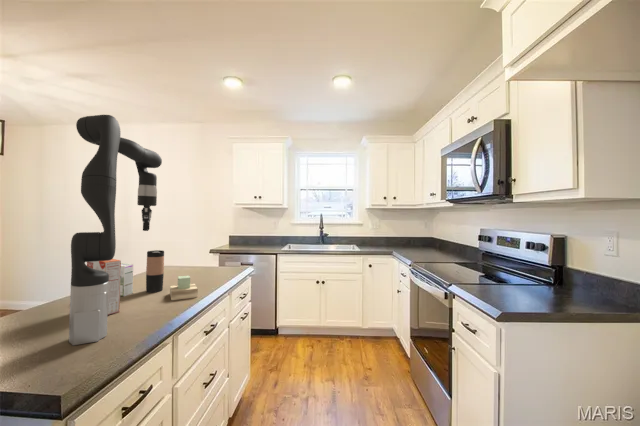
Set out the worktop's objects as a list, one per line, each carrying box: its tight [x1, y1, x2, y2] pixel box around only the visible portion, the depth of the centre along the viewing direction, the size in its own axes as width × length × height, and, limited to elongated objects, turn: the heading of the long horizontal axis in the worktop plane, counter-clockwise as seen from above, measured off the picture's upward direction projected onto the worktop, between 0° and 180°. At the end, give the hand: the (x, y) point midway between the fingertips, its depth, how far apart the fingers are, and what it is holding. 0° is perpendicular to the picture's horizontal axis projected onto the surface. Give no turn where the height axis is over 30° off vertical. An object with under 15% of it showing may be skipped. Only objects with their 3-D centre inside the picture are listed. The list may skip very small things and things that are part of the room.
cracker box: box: [86, 258, 122, 316], centre depth 110 cm, size 14×6×21 cm, turn 62°
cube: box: [177, 275, 191, 289], centre depth 133 cm, size 5×5×5 cm
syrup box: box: [120, 263, 134, 297], centre depth 132 cm, size 6×6×14 cm
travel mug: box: [145, 249, 165, 294], centre depth 140 cm, size 8×8×20 cm
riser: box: [169, 283, 199, 301], centre depth 133 cm, size 11×11×4 cm
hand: (146, 230), depth 128 cm, fingers open, 8 cm apart
